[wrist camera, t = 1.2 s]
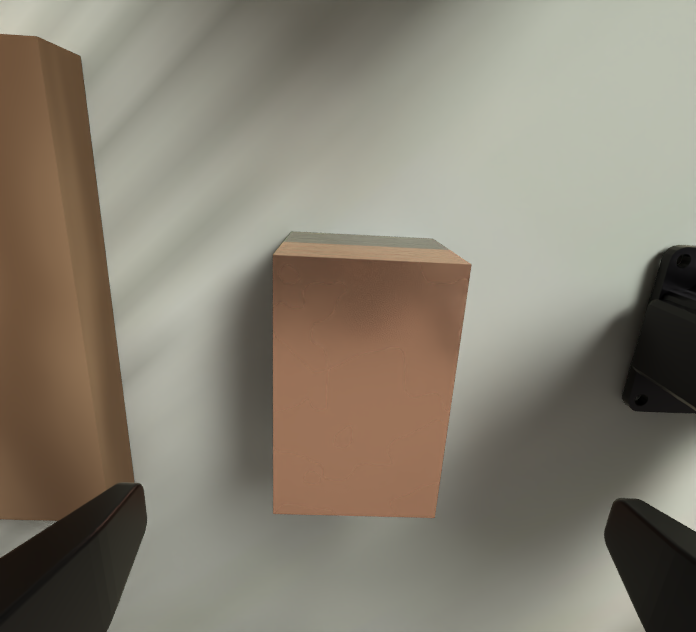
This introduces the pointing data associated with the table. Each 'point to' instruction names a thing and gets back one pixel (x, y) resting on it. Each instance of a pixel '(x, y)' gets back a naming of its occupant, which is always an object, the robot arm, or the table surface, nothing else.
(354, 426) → the block
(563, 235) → the table surface
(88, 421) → the walnut stand
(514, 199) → the table surface
